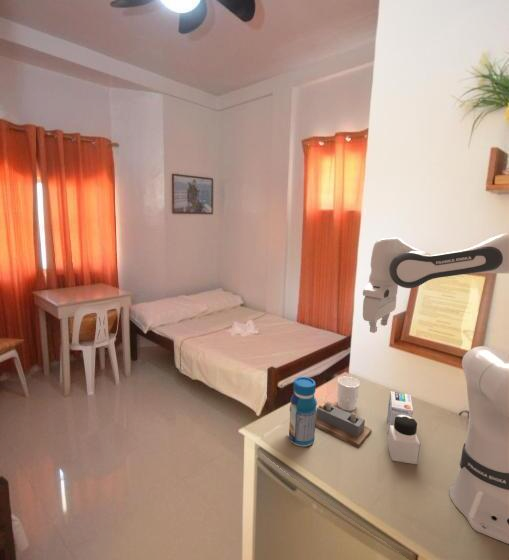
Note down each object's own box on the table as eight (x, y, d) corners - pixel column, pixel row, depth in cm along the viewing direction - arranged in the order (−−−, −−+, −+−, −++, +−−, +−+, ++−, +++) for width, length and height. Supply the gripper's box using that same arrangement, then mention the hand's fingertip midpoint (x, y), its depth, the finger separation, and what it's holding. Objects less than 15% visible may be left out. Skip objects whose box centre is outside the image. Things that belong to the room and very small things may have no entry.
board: (371, 432, 110) (373, 412, 109) (358, 447, 103) (360, 427, 101) (323, 410, 121) (324, 392, 120) (308, 423, 114) (309, 404, 113)
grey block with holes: (363, 430, 109) (365, 417, 108) (357, 437, 105) (358, 425, 104) (323, 412, 118) (324, 400, 118) (316, 418, 115) (316, 406, 114)
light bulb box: (386, 417, 118) (389, 390, 116) (407, 422, 116) (410, 394, 114) (387, 436, 108) (390, 406, 106) (409, 441, 106) (413, 411, 104)
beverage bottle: (305, 451, 100) (309, 391, 96) (283, 439, 106) (285, 381, 102) (319, 438, 107) (323, 381, 103) (297, 426, 112) (300, 372, 108)
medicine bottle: (417, 465, 96) (422, 428, 94) (391, 461, 97) (395, 424, 95) (411, 448, 103) (415, 413, 100) (387, 444, 104) (391, 410, 102)
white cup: (331, 403, 127) (333, 379, 125) (347, 398, 130) (349, 374, 128) (346, 414, 120) (348, 388, 118) (362, 408, 123) (364, 384, 121)
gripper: (384, 281, 117) (380, 319, 119) (360, 291, 101) (356, 333, 104) (403, 284, 113) (398, 323, 115) (381, 294, 97) (376, 339, 100)
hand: (378, 328), depth 110 cm, fingers open, 8 cm apart
